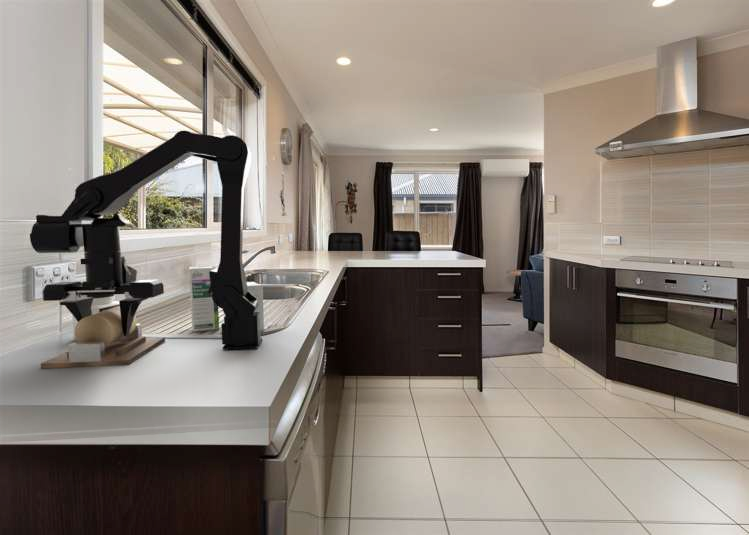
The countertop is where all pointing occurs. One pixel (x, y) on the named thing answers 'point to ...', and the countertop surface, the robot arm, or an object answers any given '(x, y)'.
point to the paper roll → (102, 327)
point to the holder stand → (105, 352)
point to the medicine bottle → (99, 305)
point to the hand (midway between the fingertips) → (108, 335)
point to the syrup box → (202, 300)
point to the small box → (258, 293)
